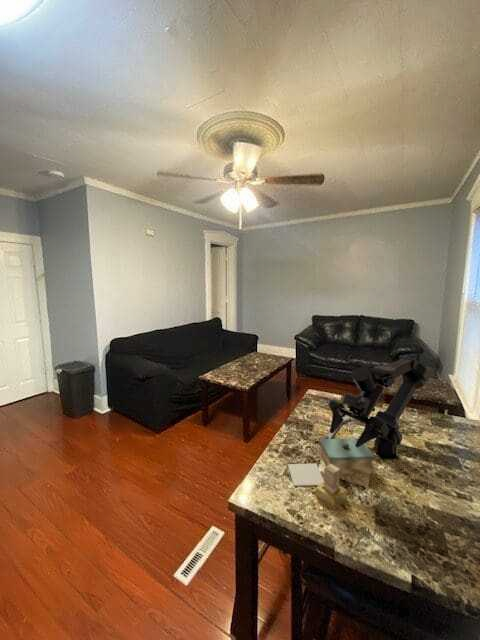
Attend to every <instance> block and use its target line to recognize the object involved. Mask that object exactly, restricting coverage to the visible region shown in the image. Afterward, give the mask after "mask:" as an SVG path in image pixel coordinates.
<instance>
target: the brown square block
mask: <svg viewBox="0 0 480 640" xmlns="http://www.w3.org/2000/svg"><path fill="white" fill-rule="evenodd" d="M323 471H324V473H323V474H324V475H323V480H324V490H326V491H327V492H329V493H330V494H332V495H335V494H336V493H337V492H338V491H339V485H340V474H339V472H340V469H339V468H337V467H335V466H334V465H332V464H330V465H328V466H327V467H326V466H325V467H324V470H323Z"/></svg>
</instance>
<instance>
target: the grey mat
mask: <svg viewBox="0 0 480 640" xmlns="http://www.w3.org/2000/svg"><path fill="white" fill-rule="evenodd" d="M287 467H288V471H289V474H290V479H291V481H292V486H293V487H311V486H312V487H317V486H319V485H320V484H321V483H323V482H324V476H323V475H322V473H321V471H320V468H319V467H318V465H317V463H316V462H314V463H288V464H287Z"/></svg>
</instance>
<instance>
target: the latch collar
mask: <svg viewBox="0 0 480 640" xmlns="http://www.w3.org/2000/svg"><path fill="white" fill-rule="evenodd" d="M347 496H348V490H347V488H344V487H343V486H342V485H340V484H339V491H338V492H337V493H336V494H335V495H332V494H330V493H329V492H327V491H326V490H324V482H323V483H321V484H320V485H319V486H315V498H317V500H320V501H321V502H323V503H324V504H325V505H327V506H328V507H329V508H331V509H332V510H334V511H335V510H336V509H337V508H338V507H339V506H340V505H342V503H344V502H345V501H346V500H347Z"/></svg>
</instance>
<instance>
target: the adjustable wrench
mask: <svg viewBox="0 0 480 640" xmlns="http://www.w3.org/2000/svg"><path fill="white" fill-rule="evenodd" d="M342 418H343V419H344V420H343V421H342V422H341V424H340V425H339V426H338V428H337V429H336V430H335V431H334V432H333V433H332V434H331V433H330V428H329V429H328V431H326V433H325V434H324V435H323V438H322V439H333V437H334V436H335V434H336V432H337V431H338V429H339V428H340V427H341V426H342V424H345V423H347V421H348V422H349V421H351V417H349V416H347V415H345V417H342Z"/></svg>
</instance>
